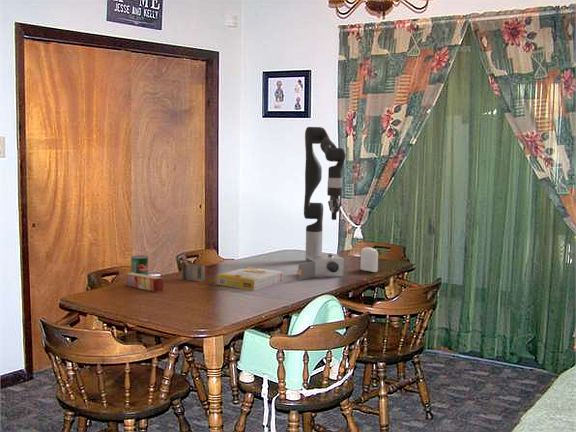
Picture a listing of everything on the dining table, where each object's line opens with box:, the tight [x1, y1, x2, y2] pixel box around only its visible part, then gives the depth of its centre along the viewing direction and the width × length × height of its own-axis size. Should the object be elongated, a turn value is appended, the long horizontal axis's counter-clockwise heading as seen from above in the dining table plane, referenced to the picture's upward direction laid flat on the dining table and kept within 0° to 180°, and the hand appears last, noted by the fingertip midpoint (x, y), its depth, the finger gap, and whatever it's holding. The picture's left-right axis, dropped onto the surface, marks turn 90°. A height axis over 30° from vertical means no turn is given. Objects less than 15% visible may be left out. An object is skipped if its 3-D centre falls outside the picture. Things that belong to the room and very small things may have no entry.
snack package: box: [124, 272, 165, 293], centre depth 322 cm, size 21×7×7 cm, turn 50°
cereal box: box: [216, 266, 284, 291], centre depth 339 cm, size 20×6×28 cm
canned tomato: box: [130, 254, 149, 275], centre depth 343 cm, size 8×8×11 cm
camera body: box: [305, 253, 345, 278], centre depth 363 cm, size 14×16×10 cm
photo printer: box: [360, 246, 379, 273], centre depth 377 cm, size 10×4×12 cm, turn 39°
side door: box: [296, 261, 316, 281], centre depth 350 cm, size 12×2×8 cm, turn 137°
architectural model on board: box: [181, 259, 206, 282], centre depth 344 cm, size 11×3×10 cm, turn 63°
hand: (333, 219), depth 373 cm, fingers closed
